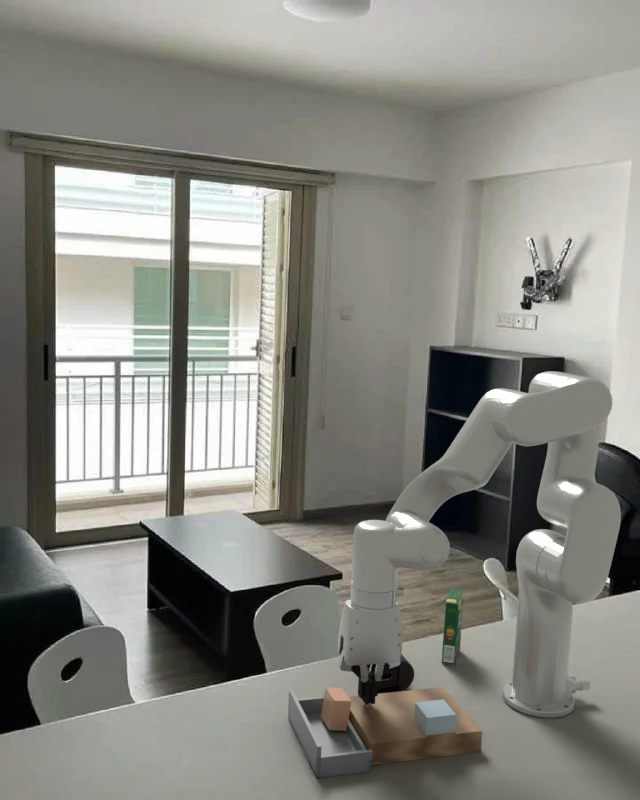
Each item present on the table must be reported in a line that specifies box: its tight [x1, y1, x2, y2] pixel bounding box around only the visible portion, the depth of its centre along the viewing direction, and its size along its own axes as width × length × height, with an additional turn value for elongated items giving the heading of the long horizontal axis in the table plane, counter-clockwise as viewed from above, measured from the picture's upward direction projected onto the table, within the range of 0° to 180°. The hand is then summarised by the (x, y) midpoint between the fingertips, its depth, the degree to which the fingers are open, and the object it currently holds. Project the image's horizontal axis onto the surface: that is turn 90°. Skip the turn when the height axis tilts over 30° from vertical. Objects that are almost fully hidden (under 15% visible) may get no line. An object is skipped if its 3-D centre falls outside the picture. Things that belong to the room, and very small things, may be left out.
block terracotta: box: [321, 687, 352, 731], centre depth 136 cm, size 5×5×3 cm
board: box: [348, 686, 483, 766], centre depth 136 cm, size 19×15×4 cm
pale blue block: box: [414, 700, 456, 736], centre depth 132 cm, size 5×5×3 cm
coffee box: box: [441, 588, 465, 666], centre depth 165 cm, size 8×3×13 cm, turn 163°
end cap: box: [367, 653, 415, 694], centre depth 153 cm, size 10×7×7 cm
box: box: [287, 689, 373, 779], centre depth 132 cm, size 9×18×5 cm, turn 16°
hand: (367, 700), depth 138 cm, fingers closed
